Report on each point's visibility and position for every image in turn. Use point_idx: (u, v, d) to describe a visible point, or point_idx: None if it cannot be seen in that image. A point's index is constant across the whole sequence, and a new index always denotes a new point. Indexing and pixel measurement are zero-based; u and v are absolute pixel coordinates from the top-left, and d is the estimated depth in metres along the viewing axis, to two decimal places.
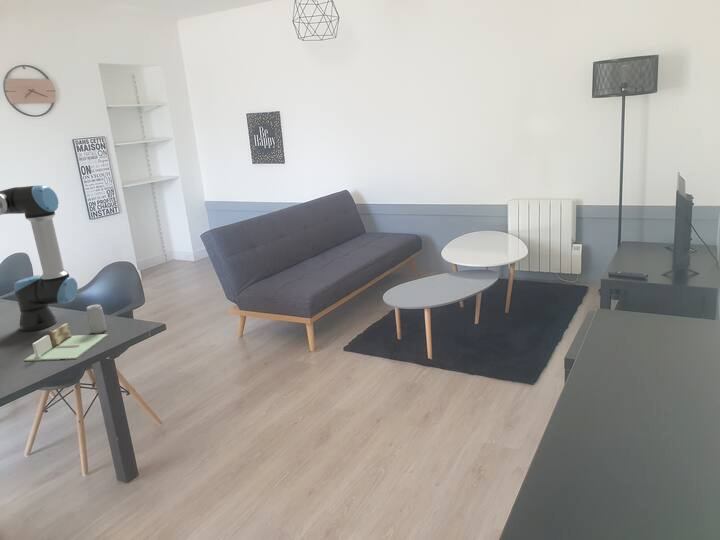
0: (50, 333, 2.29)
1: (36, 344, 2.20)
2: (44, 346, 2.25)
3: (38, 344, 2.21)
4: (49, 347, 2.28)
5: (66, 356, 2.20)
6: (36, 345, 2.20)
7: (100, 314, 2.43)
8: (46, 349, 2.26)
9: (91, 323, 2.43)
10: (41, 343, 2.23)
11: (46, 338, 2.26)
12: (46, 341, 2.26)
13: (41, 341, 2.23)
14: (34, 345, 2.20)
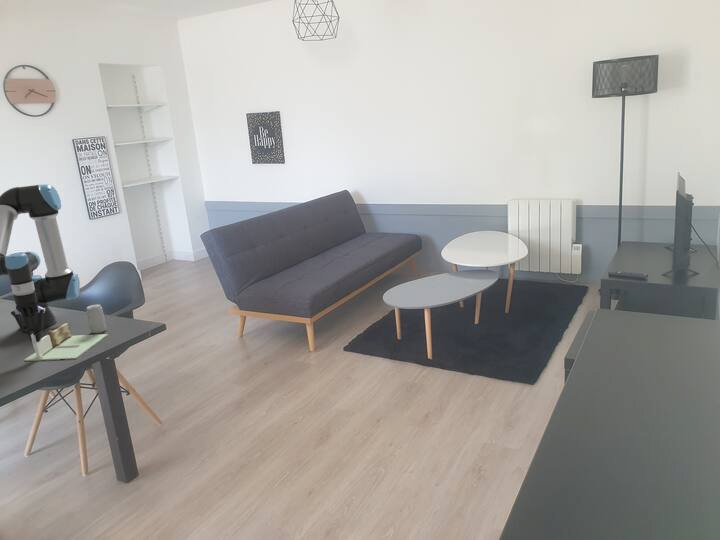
0: (50, 333, 2.29)
1: (37, 344, 2.20)
2: (45, 346, 2.25)
3: (39, 344, 2.21)
4: (49, 347, 2.28)
5: (66, 356, 2.20)
6: (37, 345, 2.20)
7: (100, 314, 2.43)
8: (47, 349, 2.26)
9: (91, 323, 2.43)
10: (42, 343, 2.23)
11: (47, 338, 2.26)
12: (47, 341, 2.26)
13: (42, 341, 2.23)
14: (35, 345, 2.20)
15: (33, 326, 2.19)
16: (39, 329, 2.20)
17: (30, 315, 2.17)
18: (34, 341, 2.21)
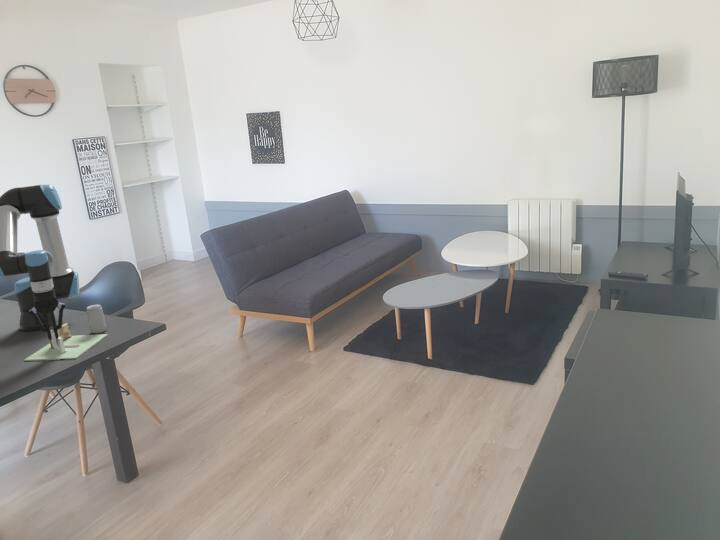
0: None
1: None
2: None
3: None
4: None
5: (66, 356, 2.20)
6: None
7: (100, 314, 2.43)
8: None
9: (91, 323, 2.43)
10: None
11: None
12: None
13: None
14: (61, 339, 2.23)
15: (53, 323, 2.21)
16: (60, 325, 2.23)
17: (51, 311, 2.20)
18: (54, 338, 2.22)
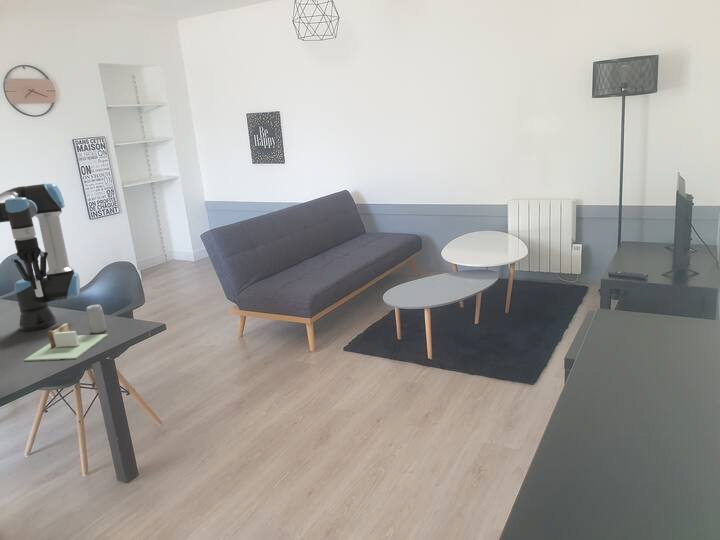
0: (50, 333, 2.29)
1: None
2: None
3: None
4: None
5: (66, 356, 2.20)
6: None
7: (100, 314, 2.43)
8: None
9: (91, 323, 2.43)
10: None
11: None
12: None
13: None
14: (75, 333, 2.30)
15: (38, 271, 2.18)
16: (44, 273, 2.20)
17: (36, 259, 2.16)
18: (39, 287, 2.19)
